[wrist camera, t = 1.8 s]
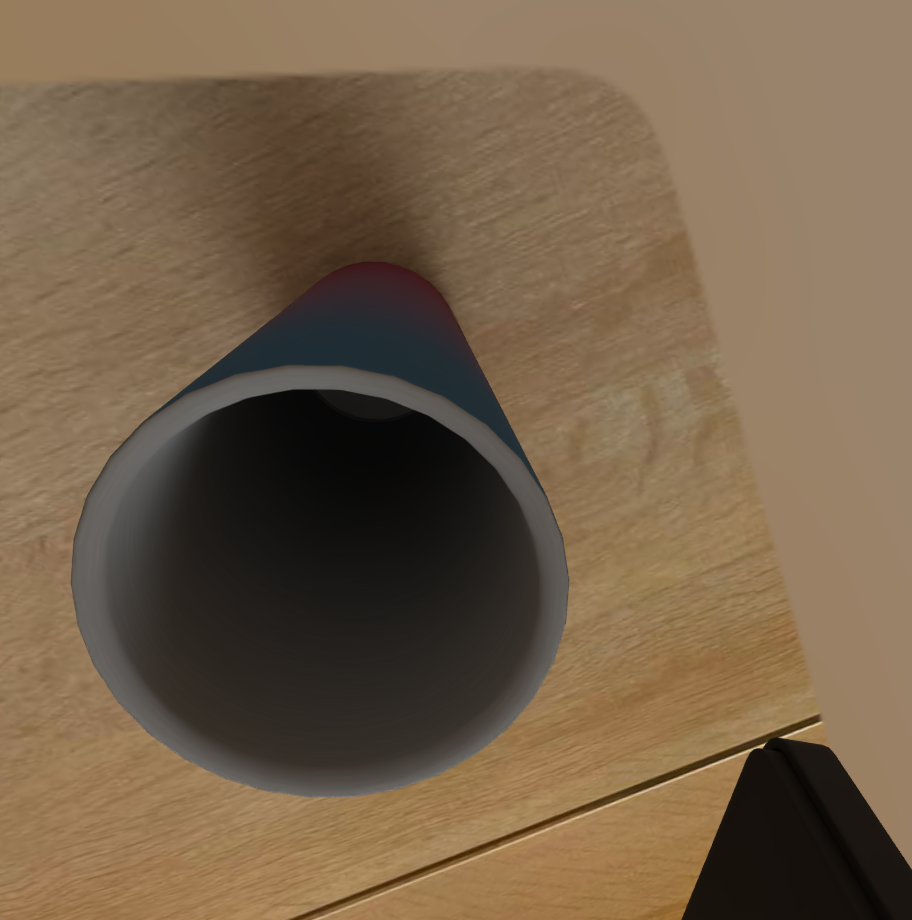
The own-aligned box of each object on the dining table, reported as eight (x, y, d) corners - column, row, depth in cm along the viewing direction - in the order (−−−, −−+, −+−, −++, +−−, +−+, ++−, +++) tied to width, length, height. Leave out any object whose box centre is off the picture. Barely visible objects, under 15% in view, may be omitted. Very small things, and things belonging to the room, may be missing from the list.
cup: (495, 441, 27) (576, 778, 13) (280, 460, 27) (130, 819, 13) (480, 219, 24) (561, 340, 11) (243, 240, 24) (9, 389, 10)
